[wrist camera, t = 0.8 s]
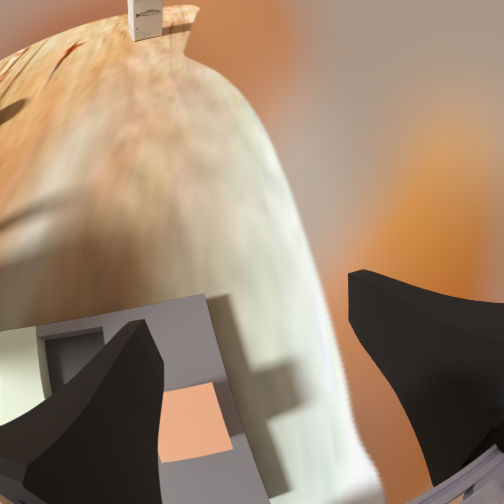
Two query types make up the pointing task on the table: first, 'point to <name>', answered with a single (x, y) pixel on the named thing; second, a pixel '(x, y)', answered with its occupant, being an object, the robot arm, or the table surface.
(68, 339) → the platform
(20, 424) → the robot arm
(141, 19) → the supplement box
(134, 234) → the table surface
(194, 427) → the block
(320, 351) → the table surface
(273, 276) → the table surface
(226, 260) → the table surface
